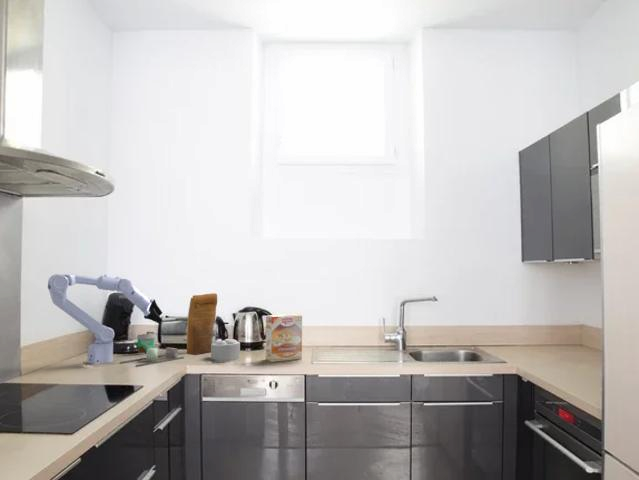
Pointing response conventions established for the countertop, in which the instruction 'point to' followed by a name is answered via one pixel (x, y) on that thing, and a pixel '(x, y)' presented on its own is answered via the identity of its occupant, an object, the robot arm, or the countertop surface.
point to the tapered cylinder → (151, 354)
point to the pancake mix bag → (201, 323)
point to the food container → (145, 342)
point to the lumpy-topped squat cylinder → (225, 350)
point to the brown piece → (169, 355)
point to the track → (151, 362)
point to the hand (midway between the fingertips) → (160, 318)
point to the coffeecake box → (283, 337)
